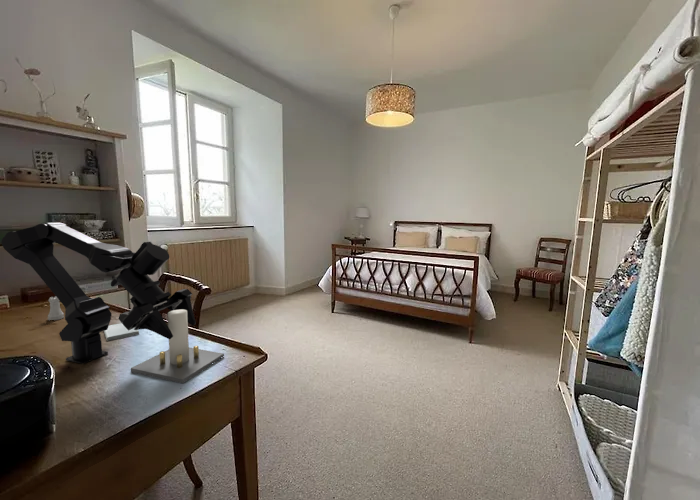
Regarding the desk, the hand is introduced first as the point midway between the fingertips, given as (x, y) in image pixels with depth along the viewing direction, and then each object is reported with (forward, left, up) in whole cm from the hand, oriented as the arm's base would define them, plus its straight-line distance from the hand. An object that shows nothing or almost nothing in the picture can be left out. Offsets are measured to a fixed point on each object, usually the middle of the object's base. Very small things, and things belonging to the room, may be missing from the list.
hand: (183, 330), depth 78 cm
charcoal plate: (-1, 0, -9) cm, 9 cm away
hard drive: (-37, +11, -10) cm, 39 cm away
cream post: (-1, 0, -8) cm, 8 cm away
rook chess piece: (-69, +12, -9) cm, 71 cm away
